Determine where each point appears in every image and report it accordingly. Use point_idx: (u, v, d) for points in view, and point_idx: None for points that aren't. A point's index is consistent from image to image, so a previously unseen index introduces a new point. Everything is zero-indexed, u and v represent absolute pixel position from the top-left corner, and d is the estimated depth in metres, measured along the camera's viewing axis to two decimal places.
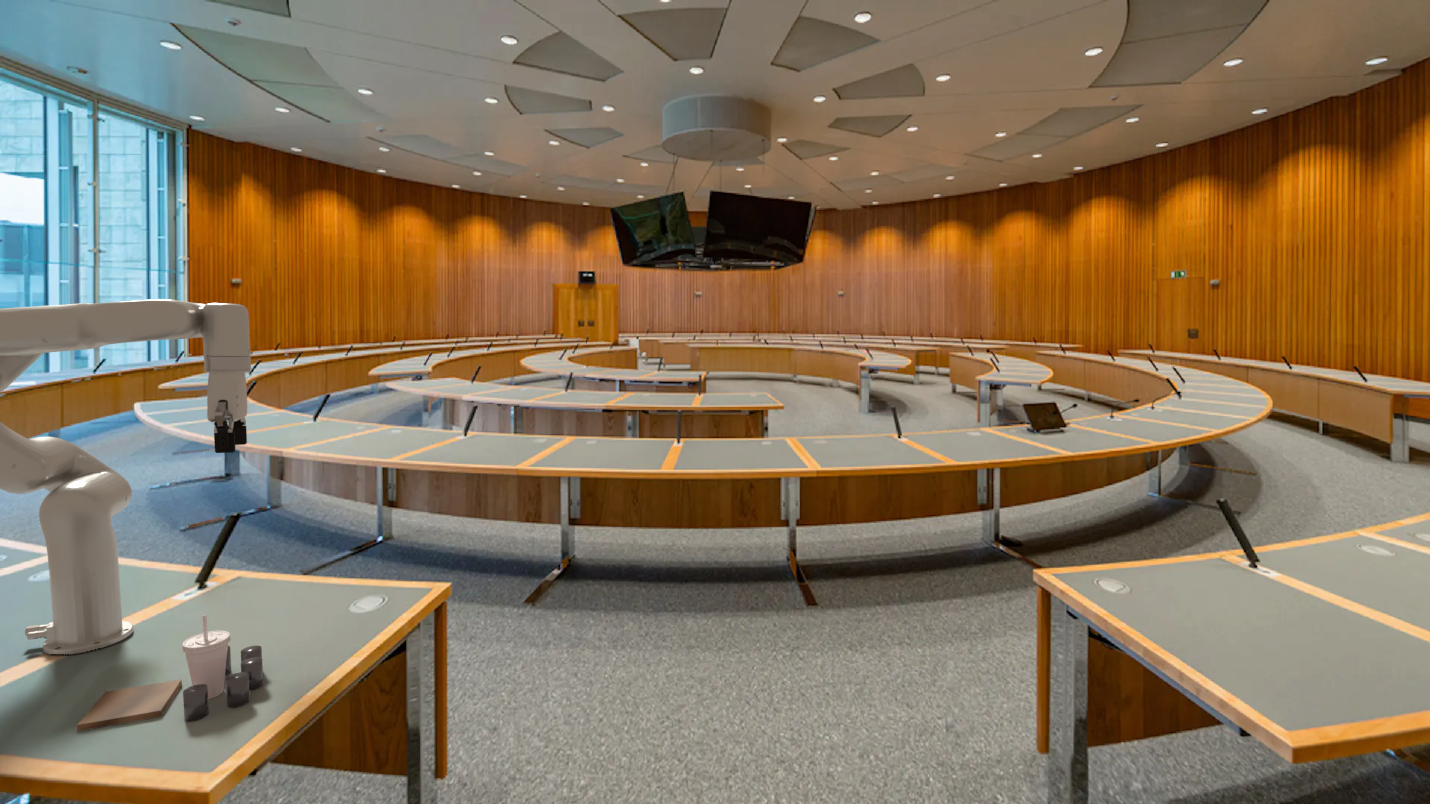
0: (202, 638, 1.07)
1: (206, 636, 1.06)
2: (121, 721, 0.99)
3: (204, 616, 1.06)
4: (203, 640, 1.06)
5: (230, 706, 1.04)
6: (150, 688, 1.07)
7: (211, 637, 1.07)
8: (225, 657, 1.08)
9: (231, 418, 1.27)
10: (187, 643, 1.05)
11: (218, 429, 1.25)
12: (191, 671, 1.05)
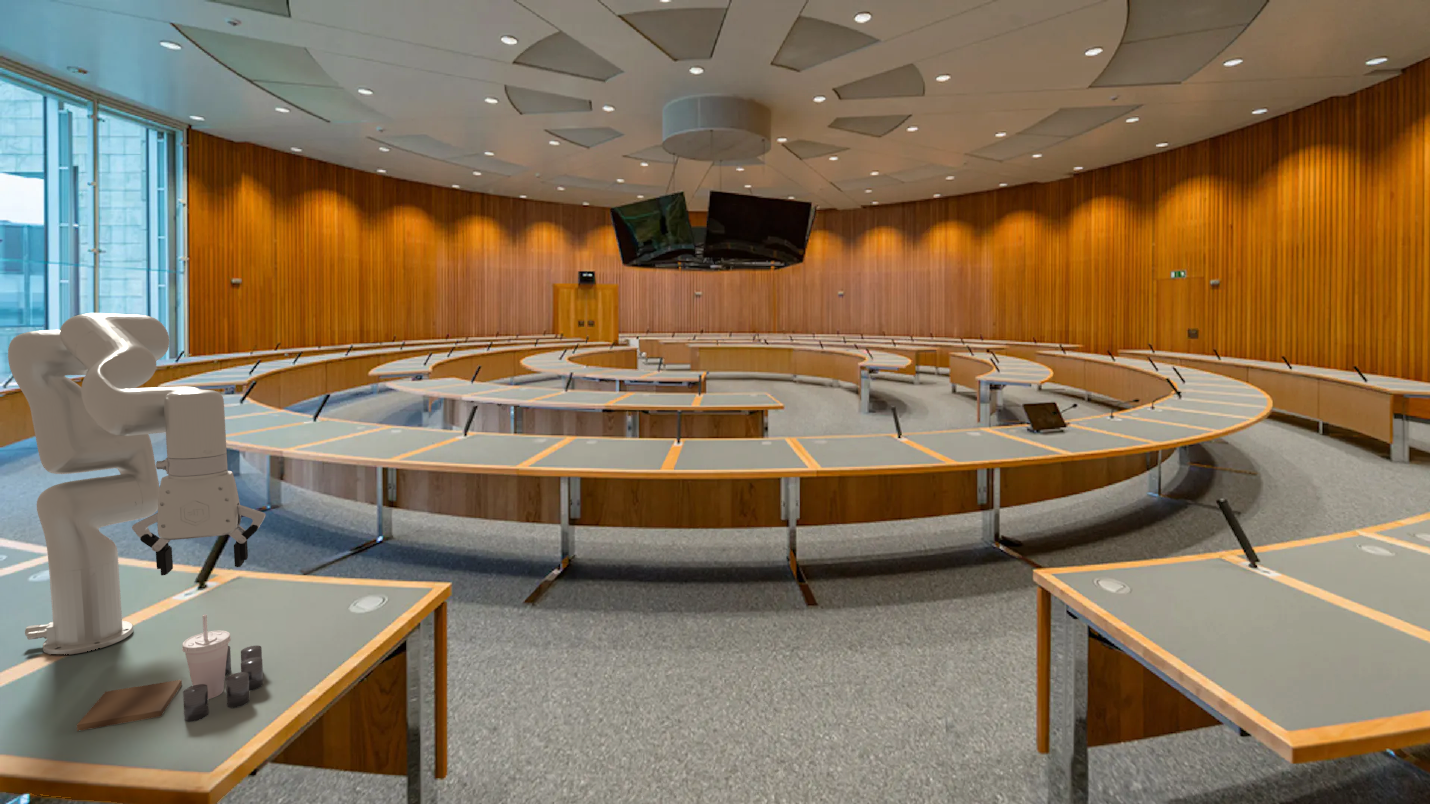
0: (202, 638, 1.07)
1: (206, 636, 1.06)
2: (121, 721, 0.99)
3: (204, 616, 1.06)
4: (203, 640, 1.06)
5: (230, 706, 1.04)
6: (150, 688, 1.07)
7: (211, 637, 1.07)
8: (225, 657, 1.08)
9: (237, 523, 1.08)
10: (187, 643, 1.05)
11: None
12: (191, 671, 1.05)
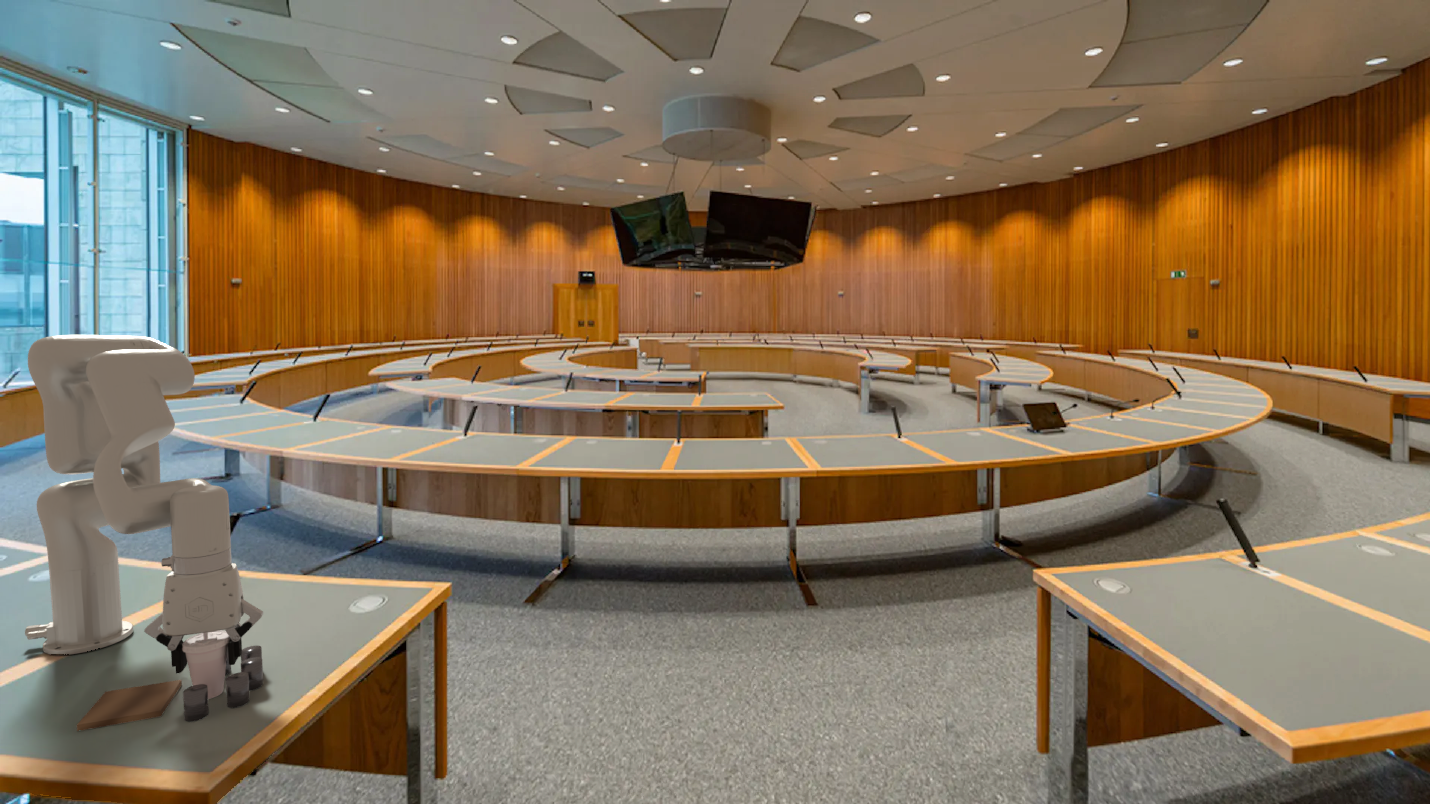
0: (202, 638, 1.07)
1: (206, 636, 1.06)
2: (121, 721, 0.99)
3: None
4: (203, 640, 1.06)
5: (230, 706, 1.04)
6: (150, 688, 1.07)
7: (211, 637, 1.07)
8: (225, 657, 1.08)
9: None
10: (187, 643, 1.05)
11: None
12: (191, 671, 1.05)
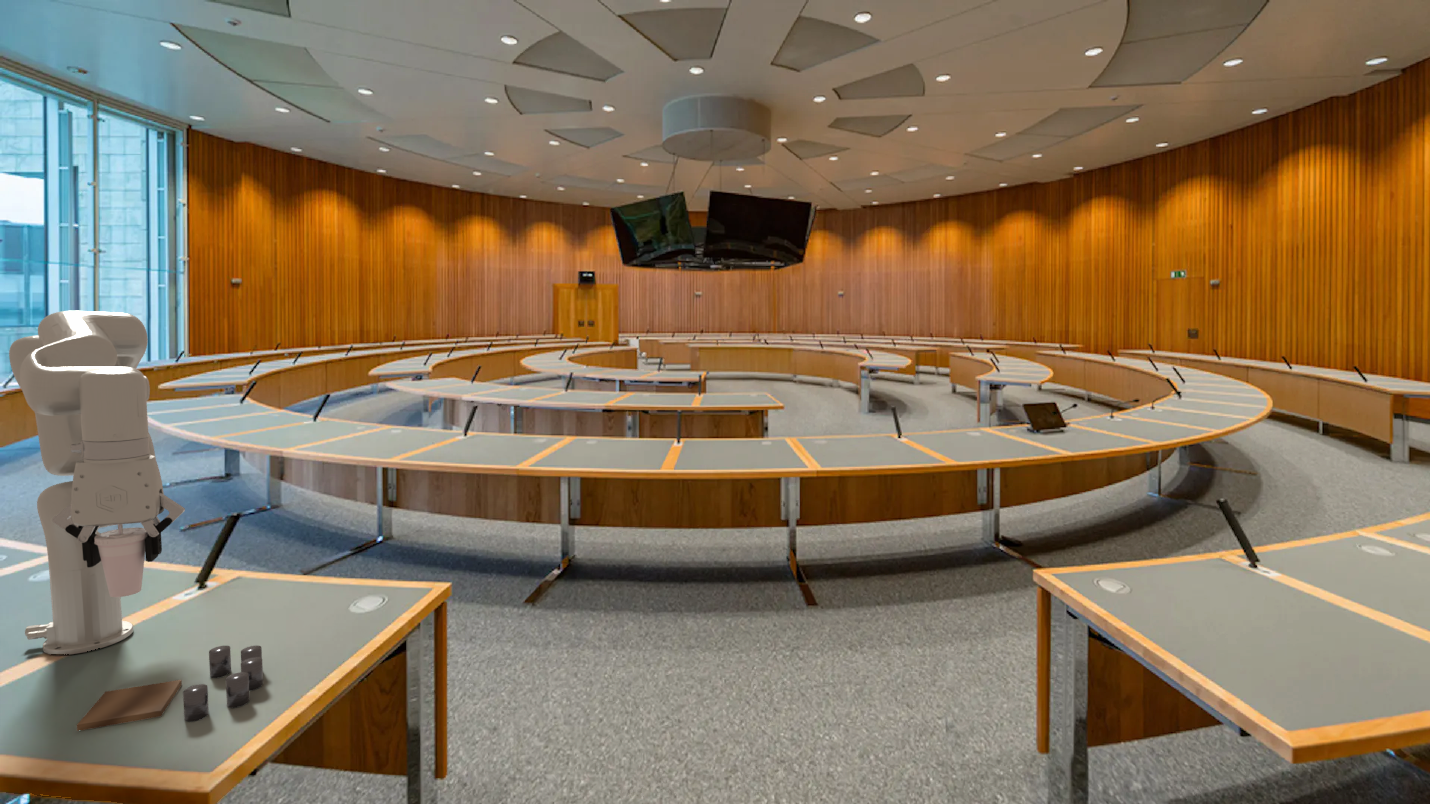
0: (117, 532, 1.01)
1: (121, 530, 1.00)
2: (121, 721, 0.99)
3: None
4: (117, 534, 1.00)
5: (230, 706, 1.04)
6: (150, 688, 1.07)
7: (127, 532, 1.01)
8: (142, 554, 1.02)
9: None
10: (100, 536, 0.99)
11: None
12: (104, 565, 0.99)
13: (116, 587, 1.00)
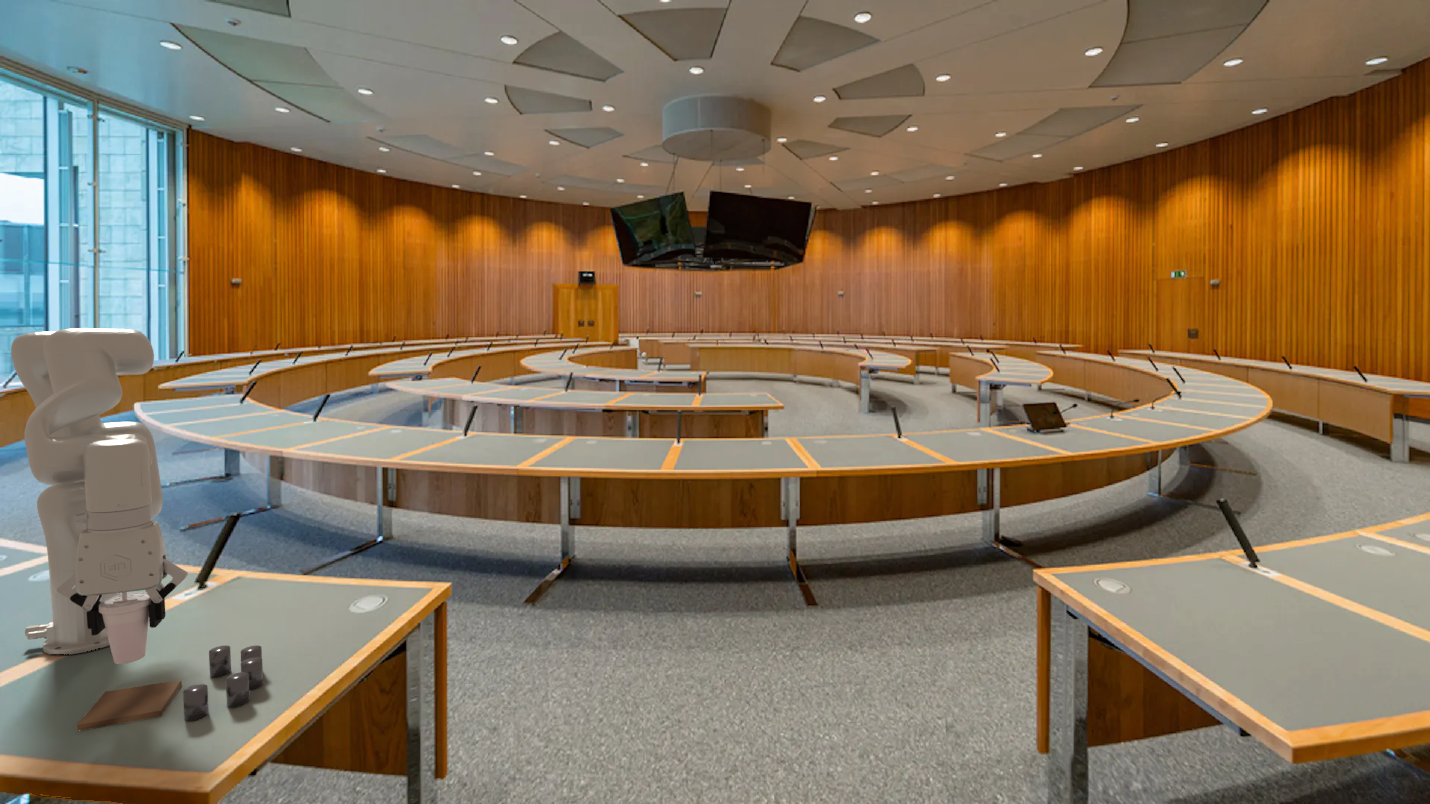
0: (121, 599, 1.01)
1: (125, 597, 1.01)
2: (121, 721, 0.99)
3: None
4: (121, 601, 1.01)
5: (230, 706, 1.04)
6: (150, 688, 1.07)
7: (131, 598, 1.02)
8: (146, 619, 1.03)
9: None
10: (104, 604, 1.00)
11: (167, 594, 1.04)
12: (108, 633, 1.00)
13: (120, 654, 1.00)
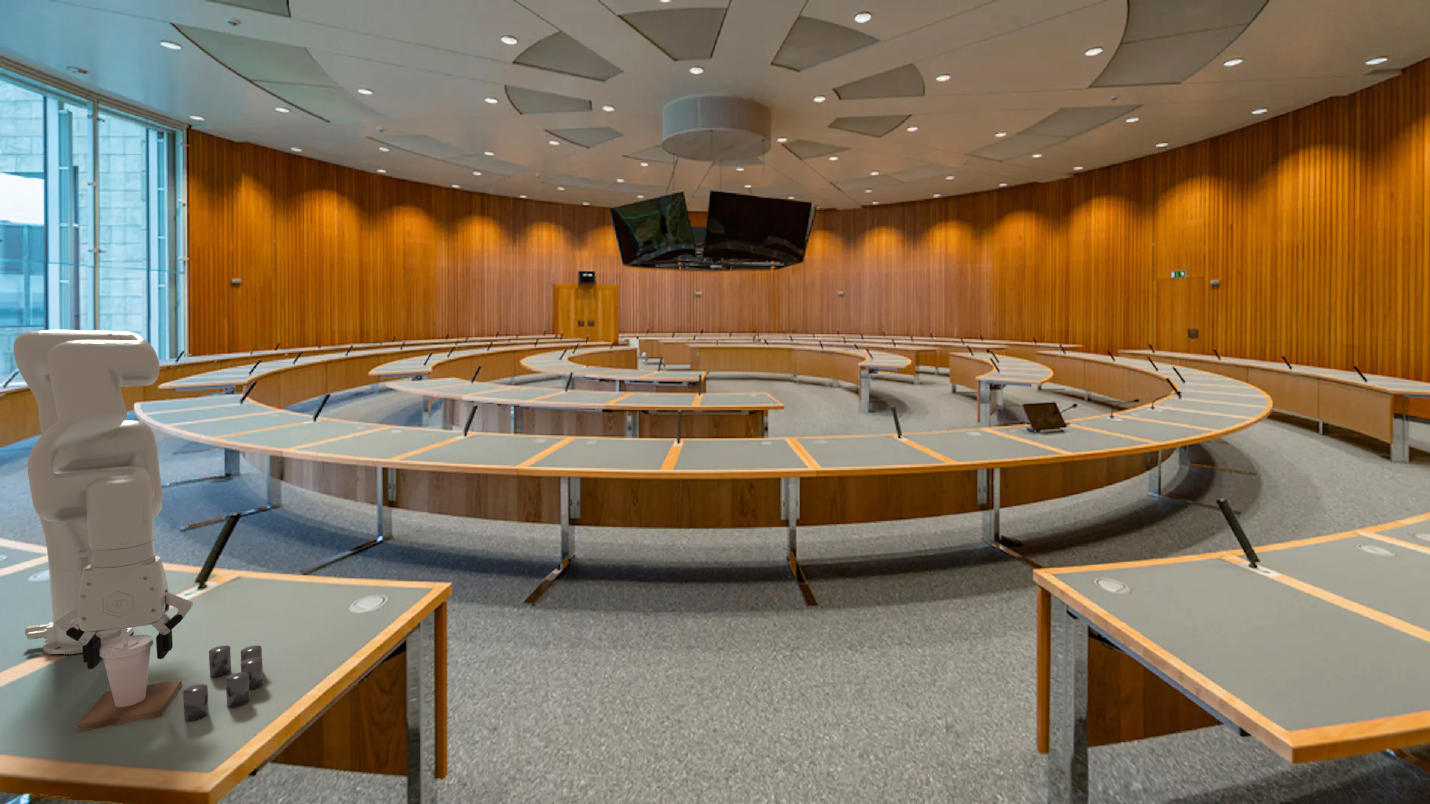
0: (122, 643, 1.02)
1: (126, 640, 1.02)
2: (121, 721, 0.99)
3: None
4: (122, 645, 1.02)
5: (230, 706, 1.04)
6: (150, 688, 1.07)
7: (131, 641, 1.03)
8: (147, 662, 1.04)
9: (163, 612, 1.05)
10: (105, 648, 1.01)
11: None
12: (109, 677, 1.01)
13: (121, 698, 1.01)
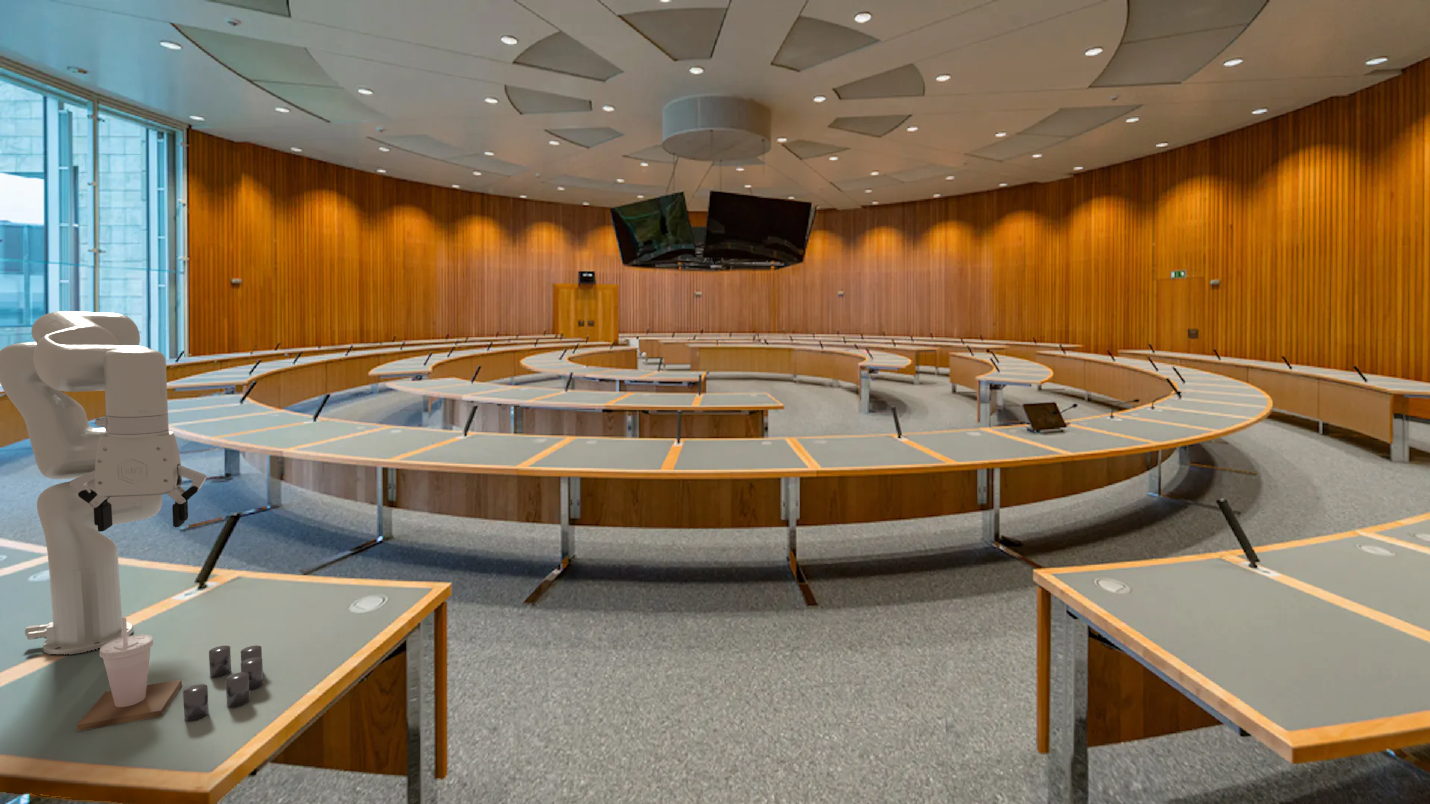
0: (122, 643, 1.02)
1: (126, 640, 1.02)
2: (121, 721, 0.99)
3: (123, 620, 1.01)
4: (122, 645, 1.02)
5: (230, 706, 1.04)
6: (150, 688, 1.07)
7: (131, 641, 1.03)
8: (147, 662, 1.04)
9: (178, 484, 1.09)
10: (105, 648, 1.01)
11: (190, 497, 1.08)
12: (109, 677, 1.01)
13: (121, 698, 1.01)
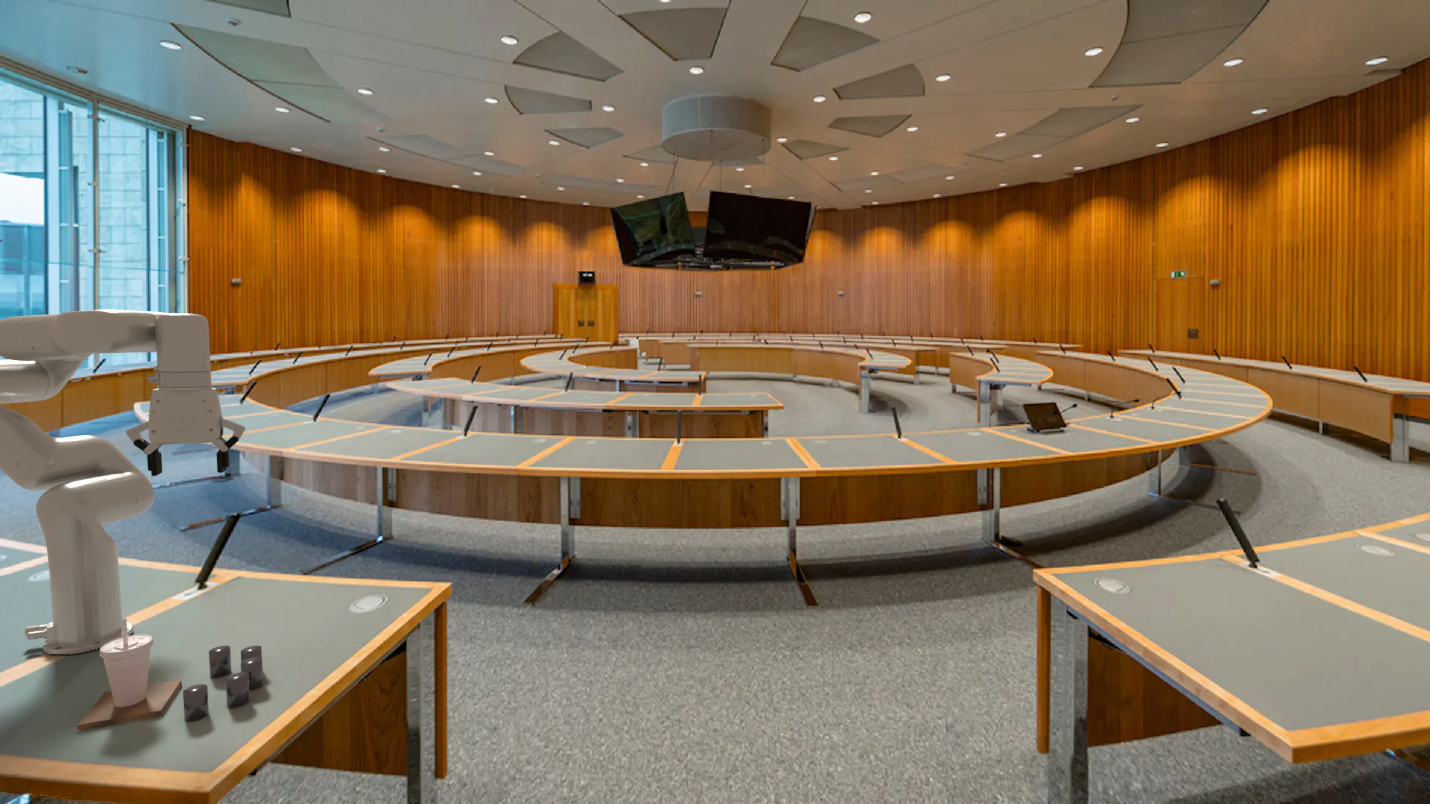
0: (122, 642, 1.02)
1: (126, 640, 1.02)
2: (121, 721, 0.99)
3: (123, 620, 1.01)
4: (122, 645, 1.02)
5: (230, 706, 1.04)
6: (150, 688, 1.07)
7: (132, 641, 1.03)
8: (147, 662, 1.04)
9: (220, 435, 1.21)
10: (105, 648, 1.01)
11: None
12: (109, 677, 1.01)
13: (121, 698, 1.01)
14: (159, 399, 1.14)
